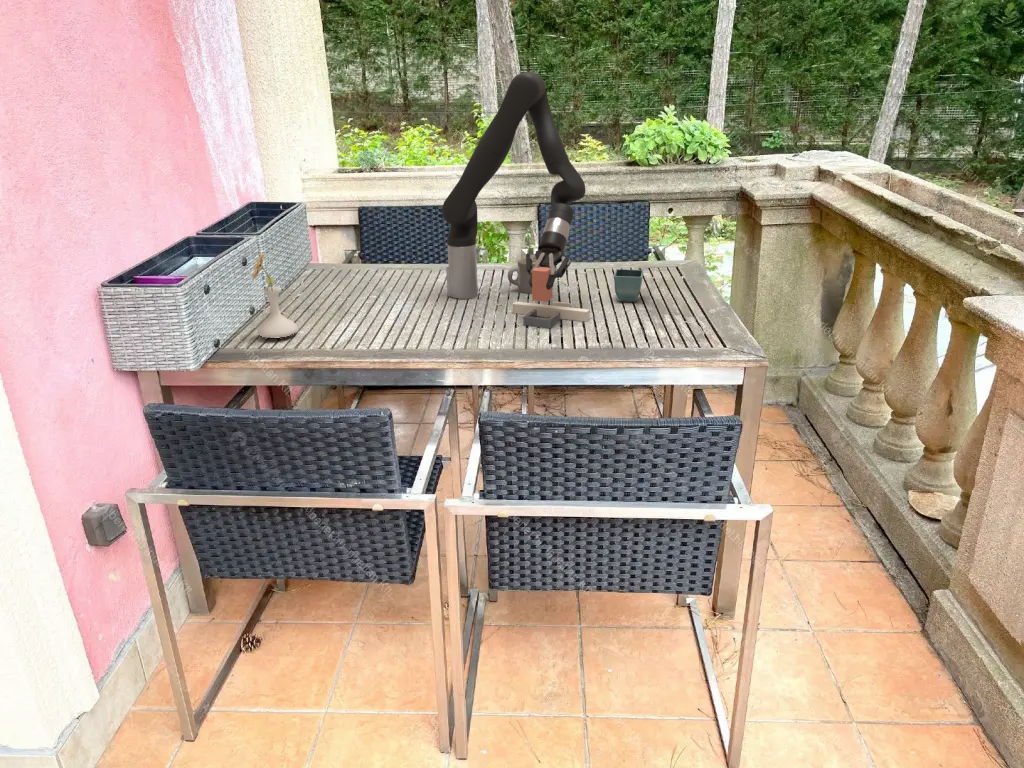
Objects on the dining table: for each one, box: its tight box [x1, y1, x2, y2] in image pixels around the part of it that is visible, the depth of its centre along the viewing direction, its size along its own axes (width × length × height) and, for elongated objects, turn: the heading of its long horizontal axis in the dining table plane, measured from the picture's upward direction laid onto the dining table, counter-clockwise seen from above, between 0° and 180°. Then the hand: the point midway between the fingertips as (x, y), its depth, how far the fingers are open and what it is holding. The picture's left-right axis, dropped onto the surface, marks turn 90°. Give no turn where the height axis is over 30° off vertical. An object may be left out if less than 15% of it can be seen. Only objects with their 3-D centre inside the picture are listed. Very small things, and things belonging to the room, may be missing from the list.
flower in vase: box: [250, 252, 299, 338], centre depth 217 cm, size 13×11×25 cm
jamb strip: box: [511, 301, 590, 323], centre depth 237 cm, size 24×11×3 cm, turn 66°
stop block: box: [531, 267, 553, 303], centre depth 224 cm, size 4×4×9 cm
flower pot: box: [613, 268, 644, 303], centre depth 246 cm, size 9×9×9 cm
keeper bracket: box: [522, 309, 561, 329], centre depth 228 cm, size 8×8×2 cm
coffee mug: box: [507, 257, 537, 295], centre depth 260 cm, size 13×10×10 cm
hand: (539, 287), depth 223 cm, fingers closed on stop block, 4 cm apart
